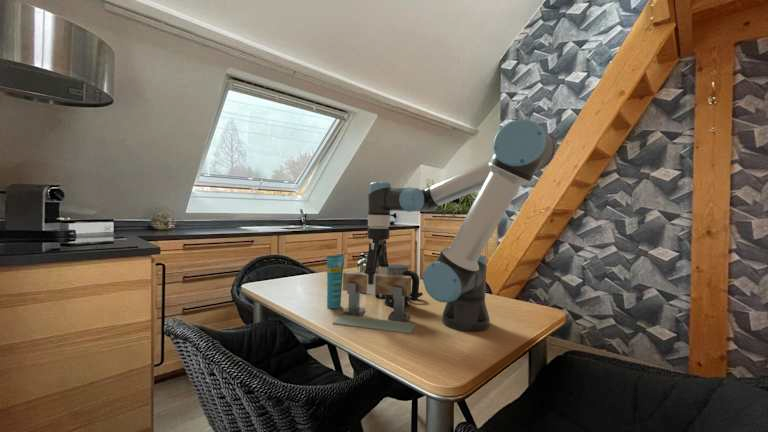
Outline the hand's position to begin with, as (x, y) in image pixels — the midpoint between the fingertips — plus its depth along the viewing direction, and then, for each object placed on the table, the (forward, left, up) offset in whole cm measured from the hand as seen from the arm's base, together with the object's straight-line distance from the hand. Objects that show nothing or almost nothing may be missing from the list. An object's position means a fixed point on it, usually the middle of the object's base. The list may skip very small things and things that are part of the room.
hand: (376, 289), depth 116 cm
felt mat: (-2, +9, -9) cm, 13 cm away
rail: (0, 0, -1) cm, 1 cm away
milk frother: (-6, -19, -9) cm, 22 cm away
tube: (+17, -4, -9) cm, 20 cm away
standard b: (+8, 0, -9) cm, 12 cm away
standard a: (-8, 0, -9) cm, 12 cm away
